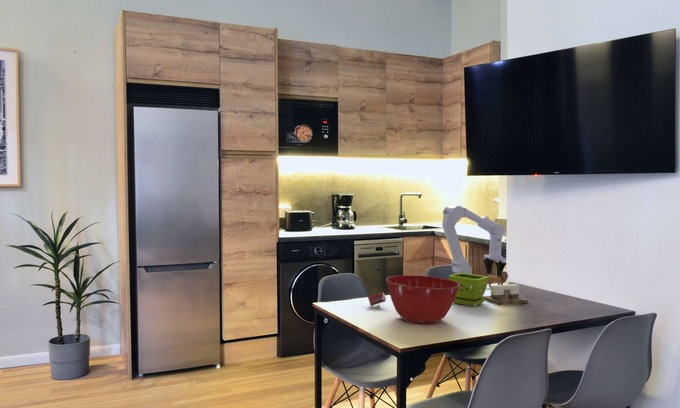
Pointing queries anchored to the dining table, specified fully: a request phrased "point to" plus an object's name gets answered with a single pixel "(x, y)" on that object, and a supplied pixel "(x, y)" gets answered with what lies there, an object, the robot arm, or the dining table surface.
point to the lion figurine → (498, 279)
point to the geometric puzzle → (377, 298)
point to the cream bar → (500, 288)
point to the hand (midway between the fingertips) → (494, 275)
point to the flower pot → (469, 288)
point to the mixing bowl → (422, 297)
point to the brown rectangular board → (505, 299)
